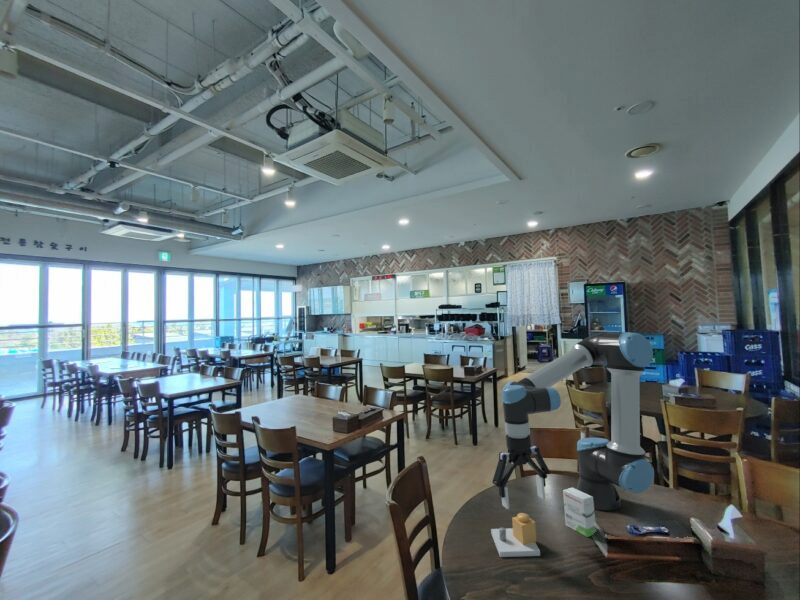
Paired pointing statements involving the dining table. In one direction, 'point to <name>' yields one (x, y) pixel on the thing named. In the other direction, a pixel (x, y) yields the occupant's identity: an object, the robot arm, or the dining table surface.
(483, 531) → the dining table surface
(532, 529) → the tan stud block
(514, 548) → the plate
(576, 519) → the ink box
